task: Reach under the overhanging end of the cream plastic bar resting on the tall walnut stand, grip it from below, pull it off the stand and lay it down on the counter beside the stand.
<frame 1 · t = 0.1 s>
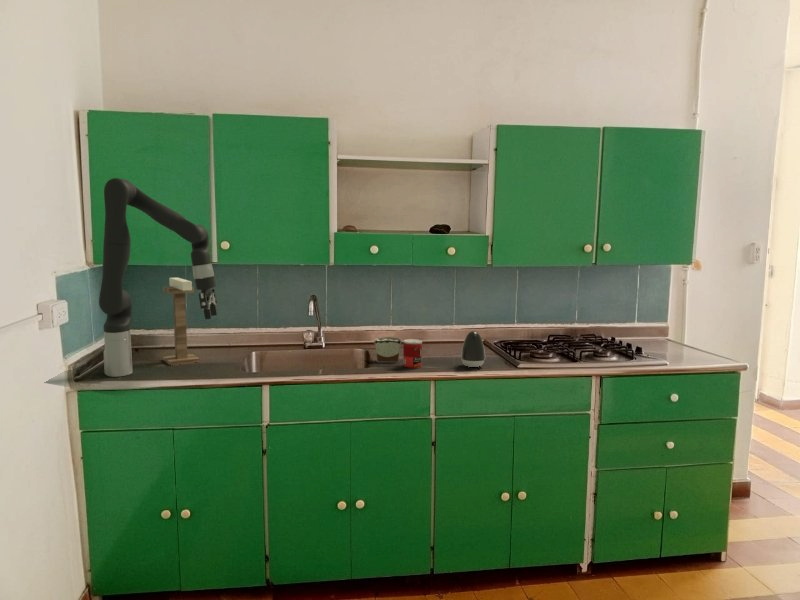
hand: (211, 317, 223), 22 cm above the counter, tool pointing down, fingers open, 8 cm apart
grey egg shaped speaker: (472, 367, 241), on the counter
bar: (180, 287, 239), point 32 cm above the counter, touching stand
canned food: (412, 366, 241), on the counter
stand: (181, 361, 246), on the counter
food container: (387, 360, 251), on the counter
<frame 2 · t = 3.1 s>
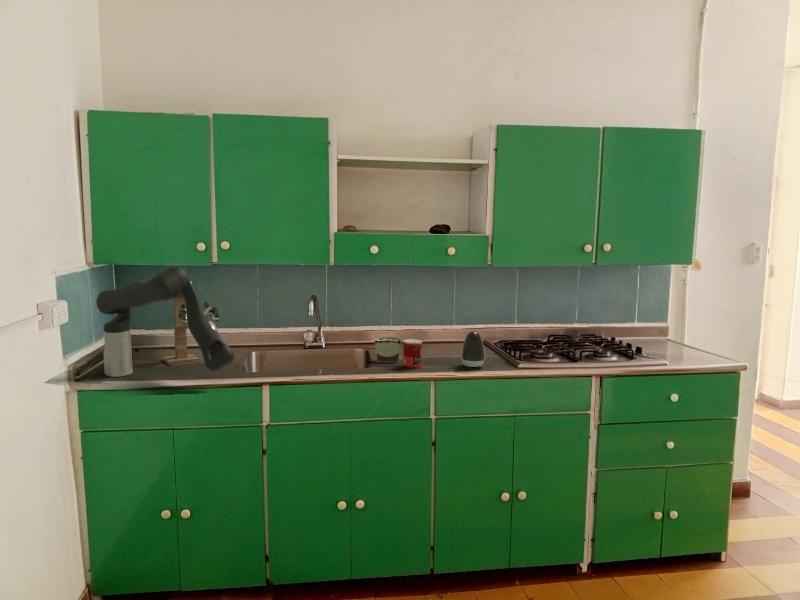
hand: (194, 304, 225), 27 cm above the counter, tool pointing upward, fingers open, 8 cm apart
nothing on the counter moved.
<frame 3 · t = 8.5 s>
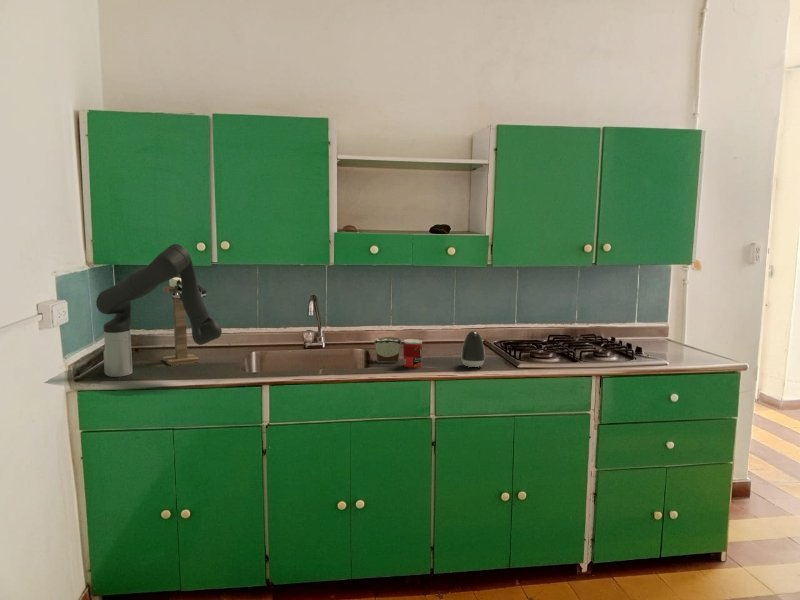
hand: (183, 281, 235), 35 cm above the counter, tool pointing upward, fingers closed on bar, 3 cm apart
bar: (180, 287, 239), point 32 cm above the counter, touching gripper, stand
everything else where it was.
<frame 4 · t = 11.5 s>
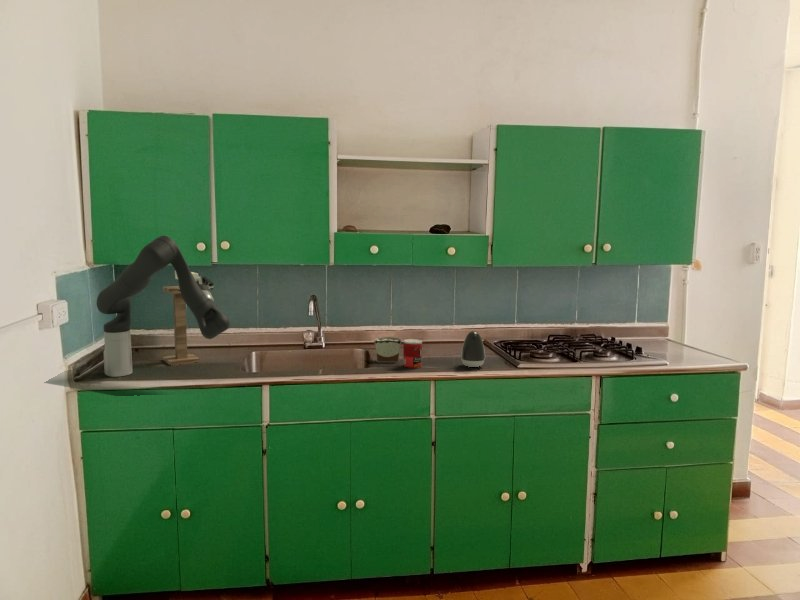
hand: (189, 273, 227), 39 cm above the counter, tool pointing upward, fingers closed on bar, 3 cm apart
bar: (186, 280, 231), point 36 cm above the counter, touching gripper
everything else where it was.
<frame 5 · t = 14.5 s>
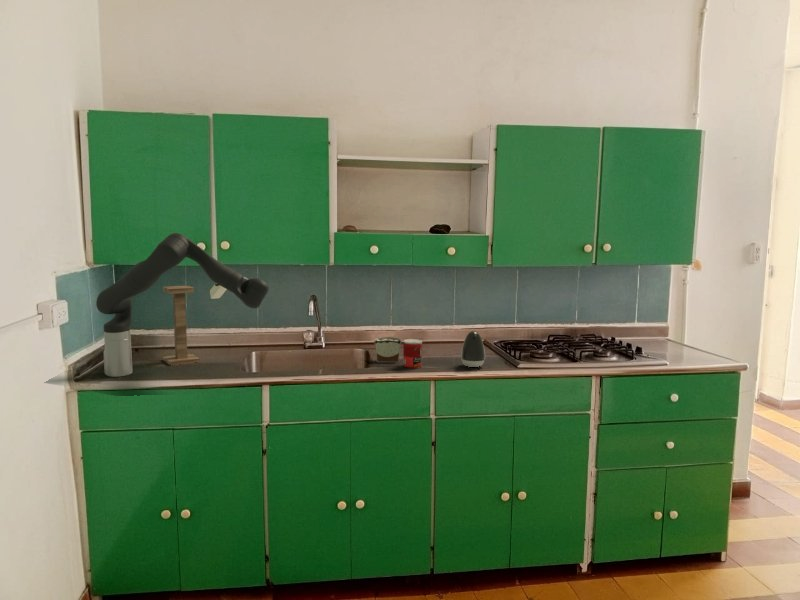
hand: (224, 278, 229), 37 cm above the counter, tool horizontal, fingers closed on bar, 3 cm apart
bar: (222, 290, 232), point 32 cm above the counter, tilted 25°, touching gripper
everything else where it was.
when the fingers open (14 cm above the counter, at t = 20.0 s): bar drops 9 cm, on the counter.
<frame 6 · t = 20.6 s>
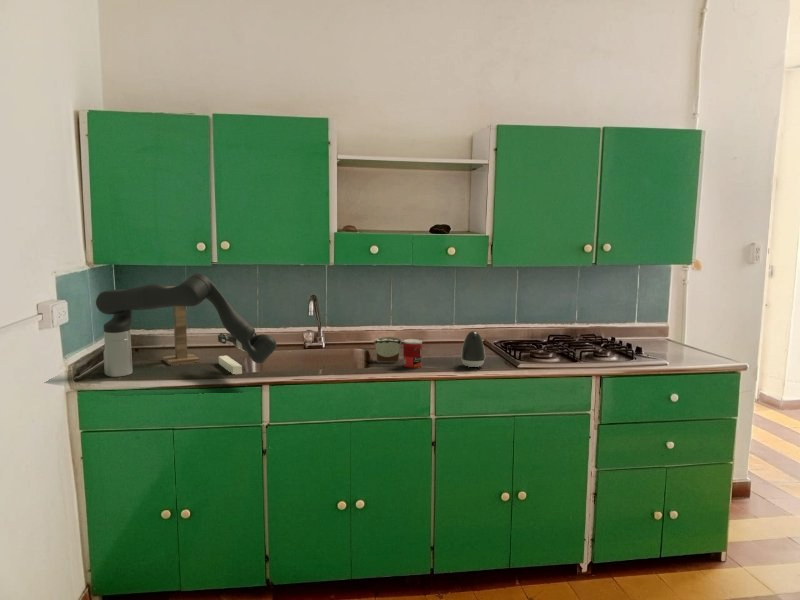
hand: (231, 334, 233), 14 cm above the counter, tool horizontal, fingers open, 8 cm apart
bar: (230, 369, 234), on the counter
everything else where it was.
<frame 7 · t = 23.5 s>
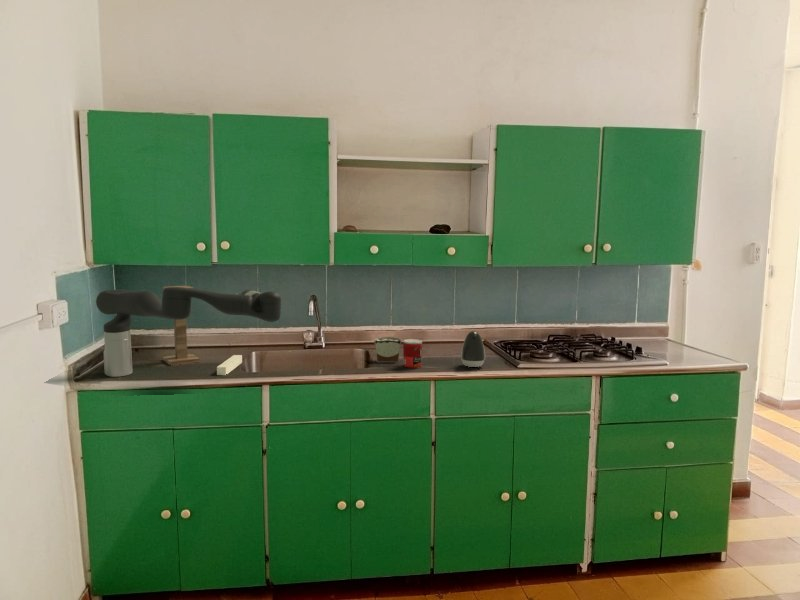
hand: (237, 295, 224), 31 cm above the counter, tool horizontal, fingers open, 8 cm apart
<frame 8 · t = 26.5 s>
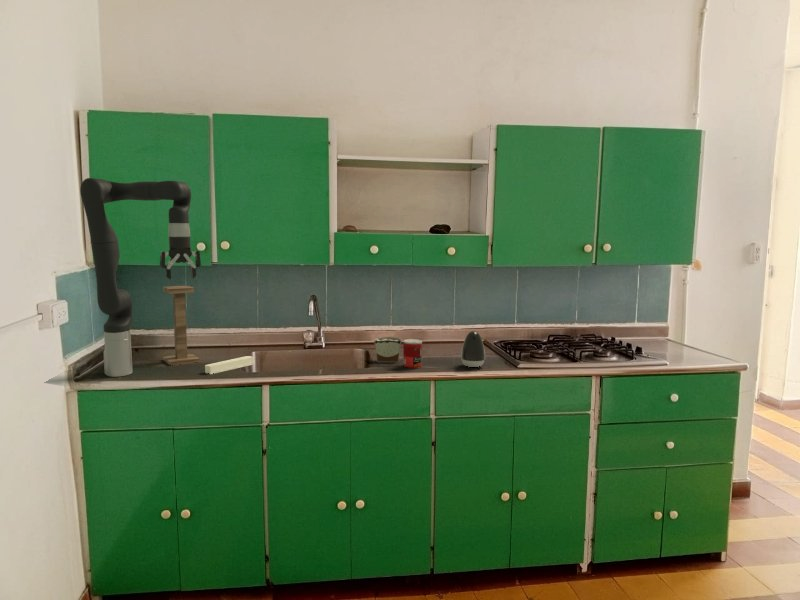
hand: (181, 278, 215), 38 cm above the counter, tool pointing down, fingers open, 8 cm apart
at the end: bar touching counter; bar on the counter; the gripper is holding nothing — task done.
